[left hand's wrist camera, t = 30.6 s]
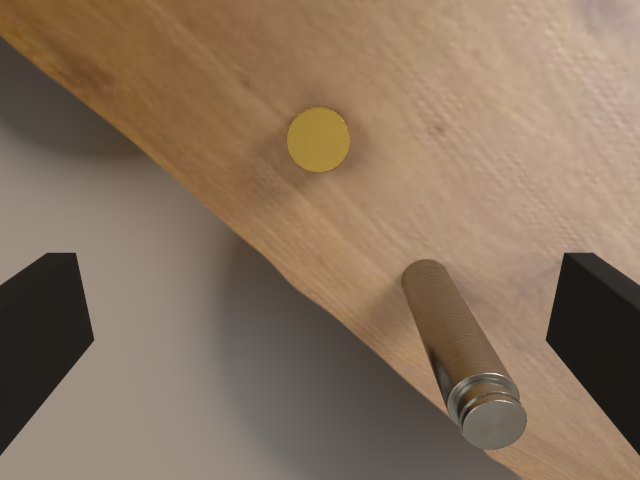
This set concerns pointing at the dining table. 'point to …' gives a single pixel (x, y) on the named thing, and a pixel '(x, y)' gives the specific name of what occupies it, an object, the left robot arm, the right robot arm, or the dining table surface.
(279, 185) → the dining table surface
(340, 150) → the lid
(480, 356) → the bottle
